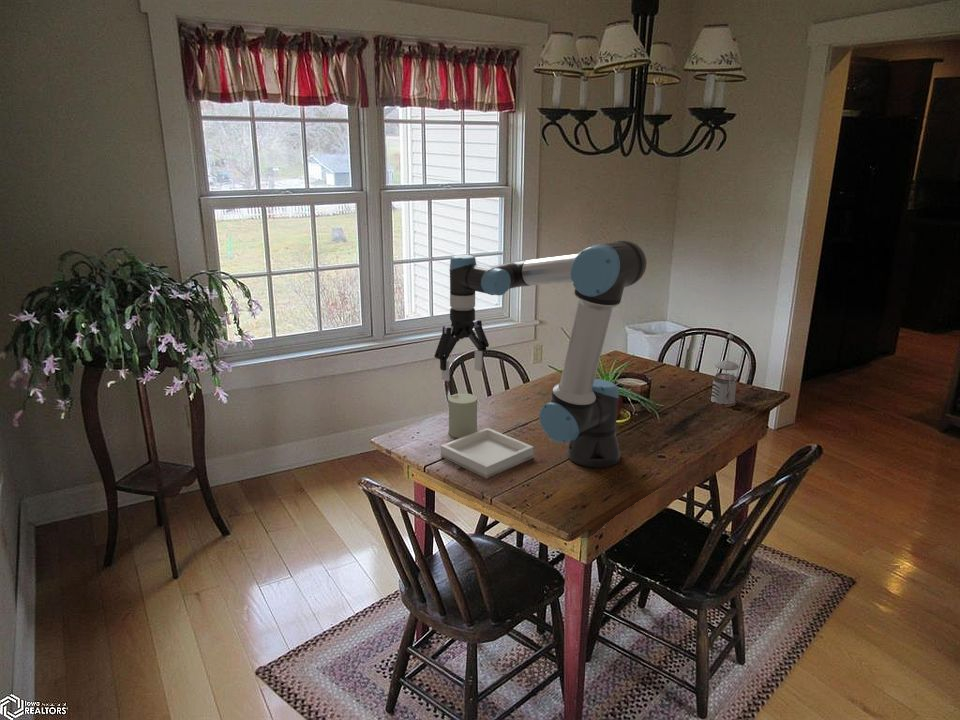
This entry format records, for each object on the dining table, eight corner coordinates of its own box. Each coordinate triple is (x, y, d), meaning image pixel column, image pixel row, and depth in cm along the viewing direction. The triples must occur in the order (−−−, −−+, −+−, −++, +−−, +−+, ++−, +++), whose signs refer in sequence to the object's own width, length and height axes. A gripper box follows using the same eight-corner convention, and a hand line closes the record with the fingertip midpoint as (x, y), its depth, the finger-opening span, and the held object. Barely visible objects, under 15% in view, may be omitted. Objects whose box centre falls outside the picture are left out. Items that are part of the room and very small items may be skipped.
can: (457, 424, 223) (457, 389, 219) (482, 430, 218) (482, 394, 215) (442, 434, 215) (442, 398, 211) (468, 440, 211) (468, 404, 207)
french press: (731, 397, 247) (739, 330, 240) (743, 409, 236) (752, 339, 229) (704, 397, 247) (711, 330, 240) (715, 409, 236) (723, 339, 229)
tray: (533, 457, 199) (533, 446, 198) (486, 478, 187) (486, 467, 186) (487, 438, 212) (487, 427, 211) (440, 456, 200) (440, 445, 199)
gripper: (483, 299, 215) (482, 363, 222) (422, 311, 199) (422, 380, 205) (500, 303, 210) (499, 369, 217) (438, 316, 194) (439, 387, 200)
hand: (462, 375), depth 211 cm, fingers open, 13 cm apart
